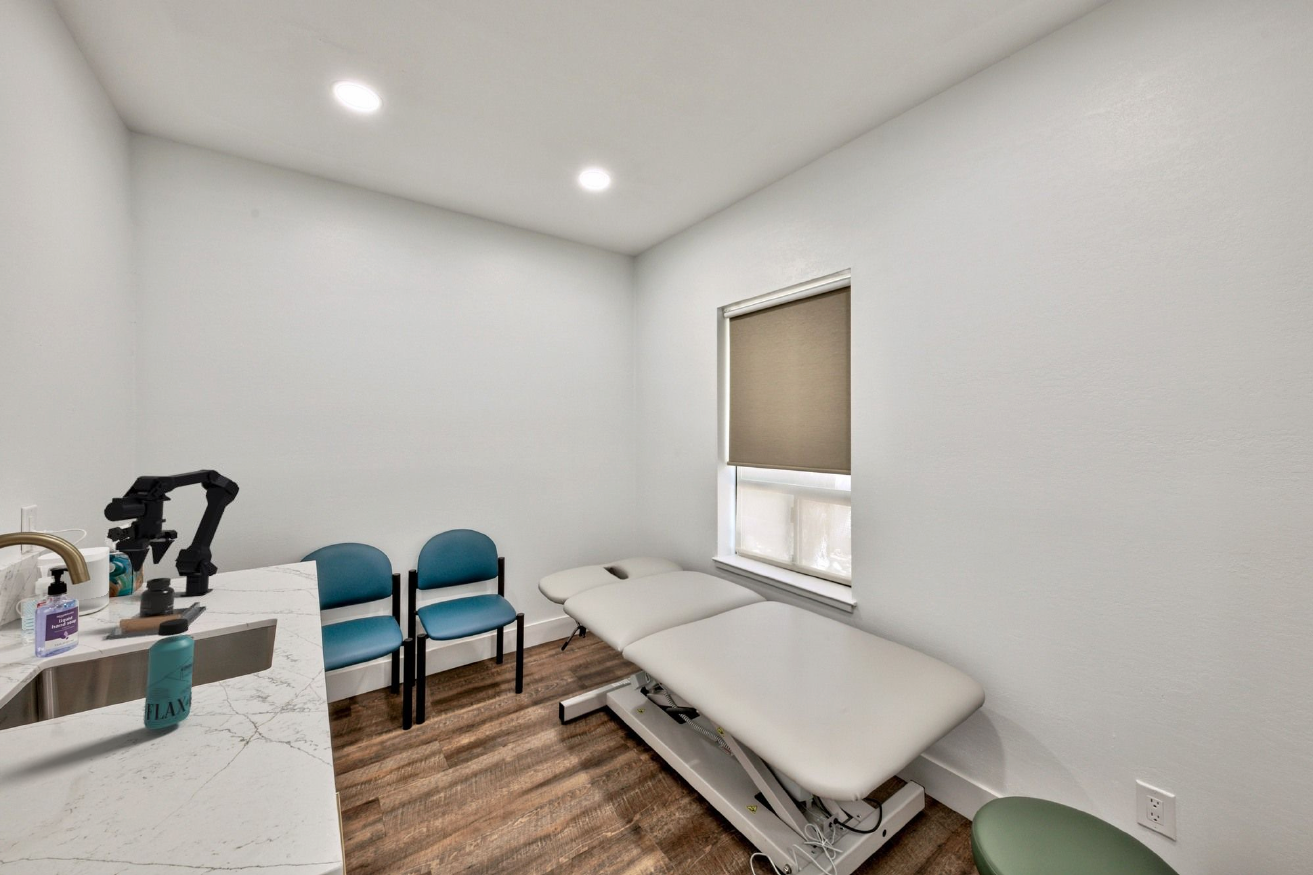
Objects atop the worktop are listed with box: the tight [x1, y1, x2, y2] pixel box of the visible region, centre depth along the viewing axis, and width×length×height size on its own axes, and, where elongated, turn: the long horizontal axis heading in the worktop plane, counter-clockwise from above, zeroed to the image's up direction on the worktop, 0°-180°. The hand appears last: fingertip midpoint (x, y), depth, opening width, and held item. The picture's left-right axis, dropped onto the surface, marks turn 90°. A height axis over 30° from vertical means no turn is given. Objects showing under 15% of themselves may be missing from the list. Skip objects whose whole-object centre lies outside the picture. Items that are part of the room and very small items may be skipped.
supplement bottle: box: [139, 577, 176, 618], centre depth 141 cm, size 7×7×12 cm
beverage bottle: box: [143, 619, 195, 730], centre depth 94 cm, size 6×7×20 cm
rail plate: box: [106, 601, 207, 640], centre depth 142 cm, size 20×15×4 cm
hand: (146, 567), depth 152 cm, fingers open, 9 cm apart
